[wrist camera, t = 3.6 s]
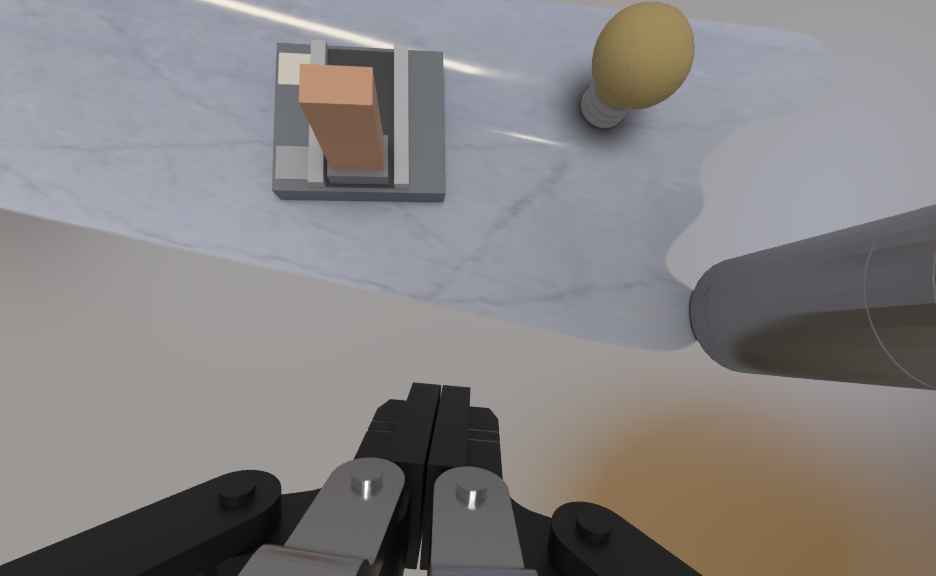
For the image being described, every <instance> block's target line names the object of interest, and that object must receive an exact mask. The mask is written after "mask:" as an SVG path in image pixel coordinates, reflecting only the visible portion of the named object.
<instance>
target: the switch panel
mask: <svg viewBox="0 0 936 576" xmlns="http://www.w3.org/2000/svg"><path fill="white" fill-rule="evenodd" d="M300 64H316V65H336V66H356V67H373V74H374V80H375V86H376V93H377V99H378V106H379V112H380V119H381V125H382V132H383V135H388V140H389V185H380V184H331V182H330V180H329V178H328V177H327V159H326V157H325V155H324V153H323V151H322V149H321V147H320V145H319V143H318V141H317V139H316V137H315V134H314V132H313V130H312V128H311V126H310V124H309V122H308V120H307V118H306V116H305V114H304V112H303V110H302V108H301V106H300V103H299V79H300ZM272 191H273V192H274V193H275V194H276V195H277V196H278V197H279V198H280V199H294V200H356V201H419V202H443V201H444V196H445V152H444V83H443V52H434V51H416V50H408V45H397V44H394V49H379V48H361V47H343V46H327V44H326V41H325V40H311V45H306V44H288V43H277V57H276V88H275V120H274V151H273V183H272Z"/></svg>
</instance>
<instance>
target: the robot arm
mask: <svg viewBox="0 0 936 576" xmlns="http://www.w3.org/2000/svg"><path fill="white" fill-rule="evenodd" d="M690 316H691V322H692V327H693V330H694V333H695V335H696V338H697V340H698V342H699V343H700V345H701V346H702V348H703V350H704V351H705V352H706V353H707V354H708V355H709V356H710V357H711V358H712V359H713V360H714V361H716V362H717V363H719V364H720V365H721V366H723V367H726V368H728V369H730V370H732V371H737V372H742V373H752V374H762V375H773V376H783V377H793V378H805V379H815V380H826V381H838V382H848V383H860V384H871V385H882V386H893V387H905V388H915V389H926V390H927V389H928V390H936V204H935V205H932V206H928V207H924V208H920V209H917V210H914V211H911V212H906V213H902V214H899V215H895V216H891V217H887V218H884V219H880V220H876V221H873V222H868V223H865V224H861V225H858V226H854V227H850V228H846V229H842V230H838V231H835V232H831V233H827V234H823V235H819V236H816V237H812V238H808V239H804V240H801V241H797V242H793V243H789V244H785V245H782V246H778V247H774V248H770V249H767V250H762V251H758V252H755V253H751V254H747V255H744V256H740V257H736V258H732V259H728V260H725V261H722V262H720V263H718V264H716V265H714V266H712V267H711V268H710V269H709V270H708V271H707V272H705V273H704V275H703V276H702V277H701V279H700V280H699V281H698V283H697V285H696V287H695V289H694V291H693V296H692V300H691V313H690ZM440 395H441V398H440ZM469 403H470V388H469V387H459V386H448V385H443V388H442V393H441V385H436V384H424V383H413V384H412V387H411V390H410V393H409V395H408V398H407V401H404V400H394V399H390V400H389V401H387V402H386V403H385V404H383V405H382V406H380V407H379V408H378V409H377V411H376V413H375V415H374V417H373V420H372V422H371V424H370V426H369V428H368V431H367V432H366V434H365V436H364V439H363V441H362V443H361V445H360V447H359V449H358V451H357V453H356V456H355V458H354V460H352V461H349V462H346V463H344V464H342V465H340V466H339V467H337V468H336V469H335V470H334V471H333V472H332V474H331V475H330V476H329V478H328V480H327V481H326V482H325V484H324V486H323V487H322V488H320V489H316V490H313V491H306V492H298V493H290V494H282V495H281V484H280V481H279V480H278V479H277V478H276V477H275V476H274V475H272V474H270V473H268V472H264V471H258V470H242V471H236V472H232V473H228V474H225V475H222V476H219V477H217V478H214V479H212V480H209V481H207V482H205V483H202V484H200V485H197V486H195V487H192V488H190V489H187V490H185V491H182V492H180V493H177V494H175V495H172V496H170V497H167V498H165V499H163V500H160V501H158V502H155V503H153V504H151V505H148V506H145V507H143V508H140V509H138V510H136V511H133V512H131V513H128V514H126V515H123V516H121V517H119V518H116V519H113V520H111V521H109V522H106V523H104V524H101V525H99V526H96V527H94V528H91V529H89V530H86V531H84V532H82V533H79V534H77V535H74V536H72V537H69V538H67V539H64V540H62V541H60V542H57V543H55V544H52V545H50V546H47V547H45V548H42V549H40V550H37V551H35V552H32V553H30V554H28V555H25V556H23V557H20V558H18V559H16V560H13V561H11V562H8V563H6V564H3V565H1V566H0V576H403V573H404V568H408V569H416V568H417V562H418V557H419V551H420V545H421V539H422V547H421V548H422V549H421V560H420V570H428V572H427V576H702V575H701V574H700V573H698V572H697V571H695V570H694V569H693V568H691V567H690V566H688V565H687V564H686V563H684V562H683V561H681V560H680V559H679V558H677V557H676V556H675V555H673V554H672V553H670V552H669V551H668V550H666V549H665V548H663V547H662V546H661V545H659V544H658V543H656V542H655V541H654V540H652V539H651V538H649V537H648V536H647V535H645V534H644V533H643V532H641V531H640V530H638V529H637V528H635V527H634V526H633V525H631V524H630V523H629V522H627V521H626V520H624V519H623V518H622V517H620V516H619V515H617V514H616V513H614V512H613V511H611V510H609V509H607V508H605V507H602V506H600V505H597V504H593V503H588V502H570V503H566V504H564V505H562V506H560V507H559V508H557V509H556V510H555V512H554V514H553V516H552V518H550V517H547V516H544V515H541V514H538V513H535V512H532V511H530V510H528V509H526V508H524V507H522V506H521V505H519V504H518V503H516V502H515V501H514V500H513V499H512V498H511V497H510V495H509V490H508V487H507V485H506V484H505V482H504V481H503V477H502V464H501V451H500V438H499V424H498V418H497V417H496V416H495V415H494V414H493V412H492V411H491V410H490V409H489V408H481V407H470V406H469ZM422 533H423V534H422Z"/></svg>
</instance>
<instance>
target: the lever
mask: <svg viewBox="0 0 936 576" xmlns="http://www.w3.org/2000/svg"><path fill="white" fill-rule="evenodd" d="M299 103H300V106H301V108H302V110H303V112H304V114H305V116H306V118H307V120H308V122H309V124H310V126H311V128H312V130H313V132H314V134H315V137H316V139H317V141H318V143H319V145H320V147H321V149H322V151H323V153H324V155H325V157H326V159H327V177H328V178H329V180H330V182H331V184H380V185H389V140H388V135H383V132H382V125H381V119H380V112H379V106H378V99H377V93H376V86H375V80H374V74H373V67H356V66H336V65H316V64H300V79H299Z"/></svg>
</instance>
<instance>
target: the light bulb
mask: <svg viewBox="0 0 936 576" xmlns="http://www.w3.org/2000/svg"><path fill="white" fill-rule="evenodd" d="M694 48H695V47H694V37H693V33H692V29H691V27H690V25H689V23H688V21H687V18H686V17H685V16H684V15H683V13H682V12H681V11H679V10H678V9H677V8H675V7H672V6H670V5H668V4H663V3H659V2H644V3H638V4H635V5H632V6H629V7H627V8H625V9H623V10H621V11H620V12H619V13H617V14H616V15H615V16H614V17H613V18H612V19H611V20H610V21H609V22H608V23H607V24H606V26H605V27H604V29H603V30H602V32H601V33H600V35H599V37H598V39H597V42H596V45H595V47H594V51H593V58H592V73H593V77H594V79H593V81H592V82H591V84H590V85H589V87H588V88H587V90H586V91H585V92H584V94H583V97H582V100H581V109H582V113H583V115H584V117H585V118H586V119H587V120H588V122H590V123H591V124H592V125H594V126H597V127H599V128H610V127H613V126H615V125H617V124H618V123H619V122H620V121H621V120H622V119H623V118H624V117H625V116H626V115H627V114H628V113H629V111H630V110H631V109H643V108H648V107H651V106H654V105H656V104H658V103H660V102H662V101H664V100H666V99H667V98H668V97H669V96H671V95H672V94H673V93H674V92H675V91H676V90H677V89H678V88H679V87H680V86H681V85H682V83H683V82H684V81H685V79H686V77H687V75H688V73H689V72H690V69H691V66H692V63H693V58H694Z"/></svg>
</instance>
